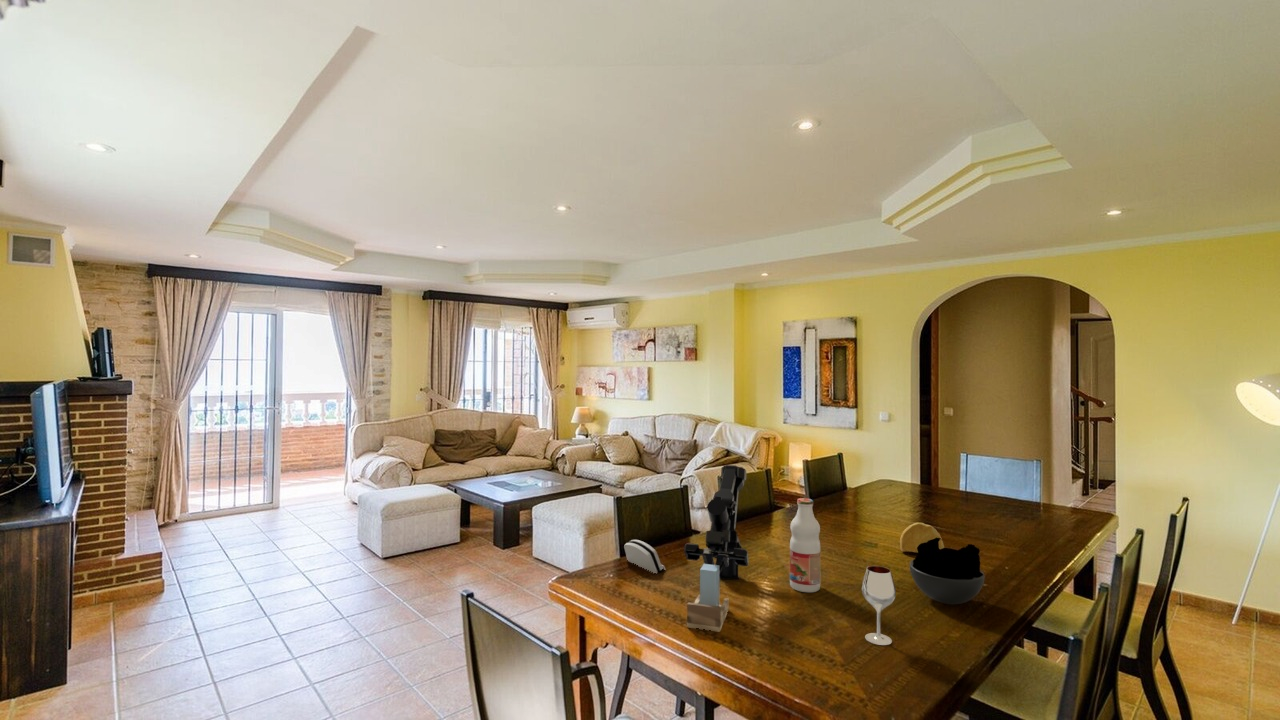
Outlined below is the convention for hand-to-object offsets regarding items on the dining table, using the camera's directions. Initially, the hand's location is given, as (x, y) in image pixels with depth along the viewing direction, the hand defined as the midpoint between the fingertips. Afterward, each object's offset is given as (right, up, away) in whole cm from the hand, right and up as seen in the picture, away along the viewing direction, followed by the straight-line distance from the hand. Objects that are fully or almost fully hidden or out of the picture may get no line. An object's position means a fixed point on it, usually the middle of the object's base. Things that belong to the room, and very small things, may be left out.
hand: (712, 581), depth 166 cm
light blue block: (-1, -7, -4) cm, 8 cm away
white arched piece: (-20, -9, +36) cm, 42 cm away
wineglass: (+41, -9, -18) cm, 45 cm away
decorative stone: (+87, -10, +54) cm, 103 cm away
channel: (-2, -8, -6) cm, 10 cm away
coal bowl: (+71, -9, +7) cm, 72 cm away
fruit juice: (+32, -9, +18) cm, 38 cm away
